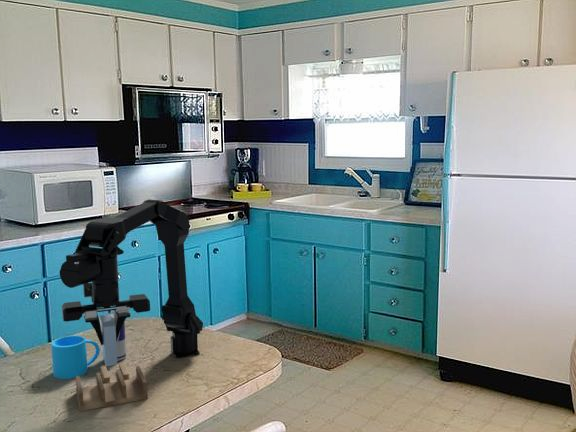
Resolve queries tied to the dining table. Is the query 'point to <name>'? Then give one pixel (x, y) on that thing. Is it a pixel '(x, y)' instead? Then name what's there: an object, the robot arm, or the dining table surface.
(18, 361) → the dining table surface
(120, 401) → the rack
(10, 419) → the dining table surface
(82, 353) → the mug
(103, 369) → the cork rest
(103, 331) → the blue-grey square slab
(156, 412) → the dining table surface
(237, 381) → the dining table surface
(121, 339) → the energy drink
